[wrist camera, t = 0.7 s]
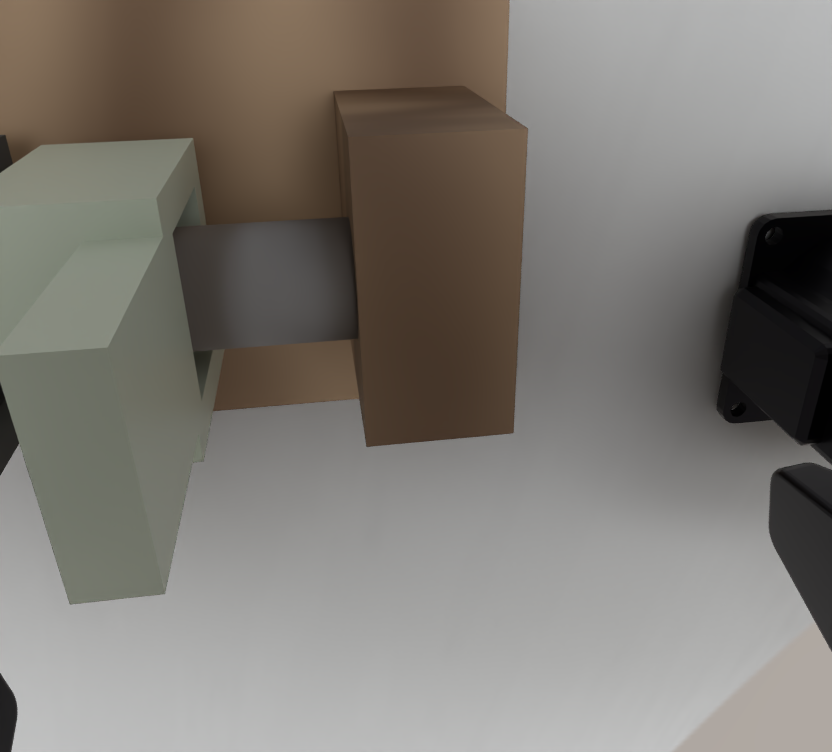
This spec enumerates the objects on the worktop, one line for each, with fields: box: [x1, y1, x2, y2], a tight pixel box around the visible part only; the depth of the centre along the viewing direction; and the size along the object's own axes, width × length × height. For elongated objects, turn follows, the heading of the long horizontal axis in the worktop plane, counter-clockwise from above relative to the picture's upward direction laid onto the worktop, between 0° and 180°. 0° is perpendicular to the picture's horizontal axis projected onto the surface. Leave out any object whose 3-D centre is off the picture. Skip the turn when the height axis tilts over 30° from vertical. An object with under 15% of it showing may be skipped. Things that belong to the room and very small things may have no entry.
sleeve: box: [0, 138, 225, 604], centre depth 13 cm, size 3×5×9 cm, turn 1°
